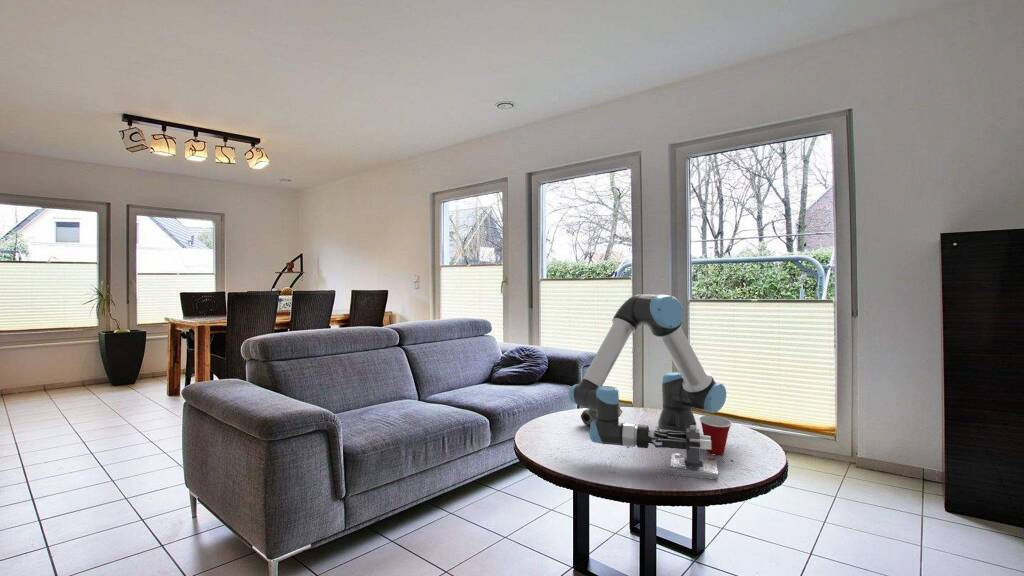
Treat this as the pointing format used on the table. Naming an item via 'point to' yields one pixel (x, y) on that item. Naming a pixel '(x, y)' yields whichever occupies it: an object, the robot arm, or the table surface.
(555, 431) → the table surface
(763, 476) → the table surface
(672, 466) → the socket
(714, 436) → the plastic cup
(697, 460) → the plug
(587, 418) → the lucky cat figurine
